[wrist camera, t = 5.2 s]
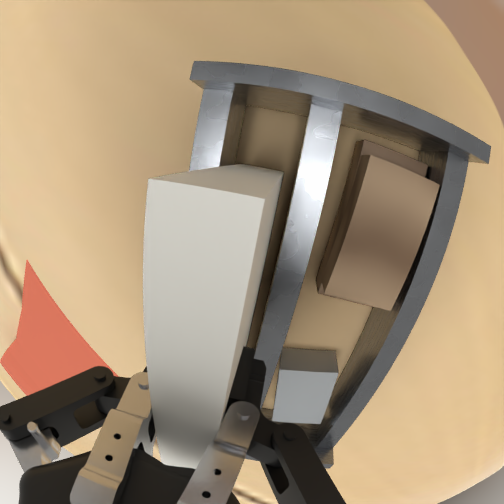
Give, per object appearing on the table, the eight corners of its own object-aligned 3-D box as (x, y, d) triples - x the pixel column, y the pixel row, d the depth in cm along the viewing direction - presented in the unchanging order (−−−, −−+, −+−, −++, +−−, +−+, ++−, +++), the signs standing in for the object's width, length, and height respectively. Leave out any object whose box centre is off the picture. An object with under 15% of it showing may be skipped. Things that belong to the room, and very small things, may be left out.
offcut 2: (355, 142, 16) (364, 139, 14) (412, 164, 16) (428, 165, 14) (315, 277, 20) (317, 293, 17) (369, 291, 19) (378, 307, 17)
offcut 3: (361, 155, 14) (370, 154, 12) (424, 181, 14) (439, 184, 12) (321, 278, 17) (324, 293, 15) (382, 295, 17) (390, 310, 15)
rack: (224, 89, 16) (193, 61, 10) (440, 146, 15) (490, 146, 9) (186, 394, 25) (167, 437, 20) (327, 423, 24) (329, 468, 19)
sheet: (79, 425, 36) (-4, 328, 32) (175, 380, 30) (46, 225, 25) (67, 443, 31) (-21, 341, 26) (161, 411, 24) (15, 235, 20)
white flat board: (242, 163, 16) (148, 178, 5) (284, 171, 15) (265, 198, 5) (208, 381, 22) (167, 486, 12) (236, 388, 22) (205, 498, 12)
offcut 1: (282, 345, 22) (279, 369, 19) (334, 348, 21) (338, 372, 18) (274, 397, 24) (271, 420, 21) (319, 401, 24) (320, 423, 21)
